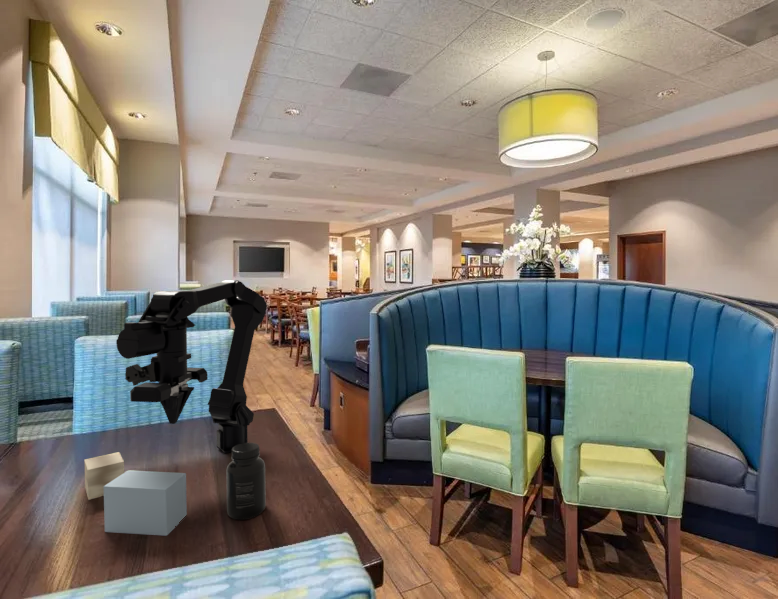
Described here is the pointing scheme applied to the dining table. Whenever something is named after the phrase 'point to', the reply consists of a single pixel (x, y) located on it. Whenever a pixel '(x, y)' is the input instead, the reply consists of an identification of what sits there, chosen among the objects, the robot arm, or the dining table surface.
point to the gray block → (145, 502)
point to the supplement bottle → (245, 482)
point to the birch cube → (101, 473)
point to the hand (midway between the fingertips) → (173, 423)
